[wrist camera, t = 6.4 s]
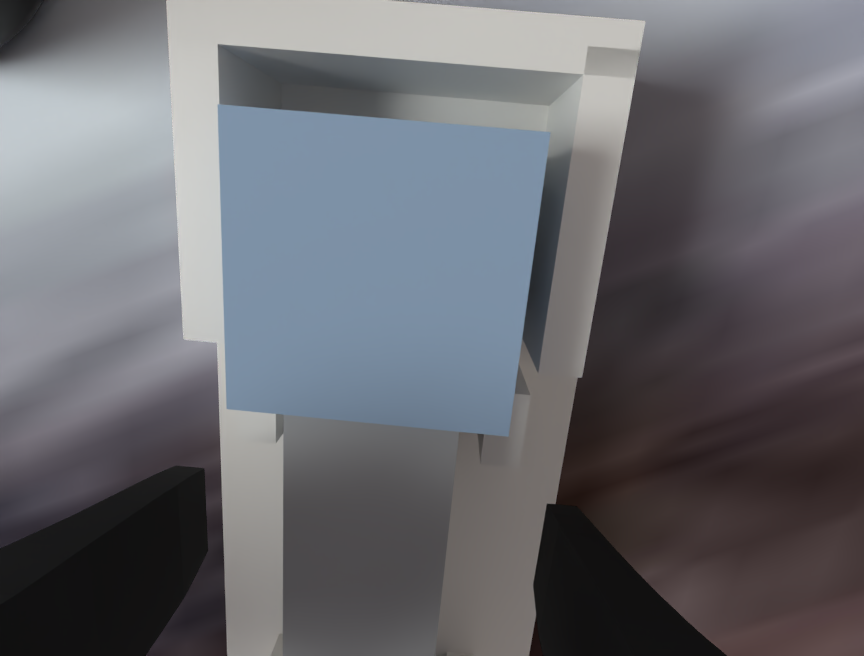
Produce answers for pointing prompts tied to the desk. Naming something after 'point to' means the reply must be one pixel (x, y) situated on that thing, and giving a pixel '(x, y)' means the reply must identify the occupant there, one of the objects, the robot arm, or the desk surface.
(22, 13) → the supplement bottle
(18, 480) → the desk surface
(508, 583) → the slider rail
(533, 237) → the blue-capped grey bar
